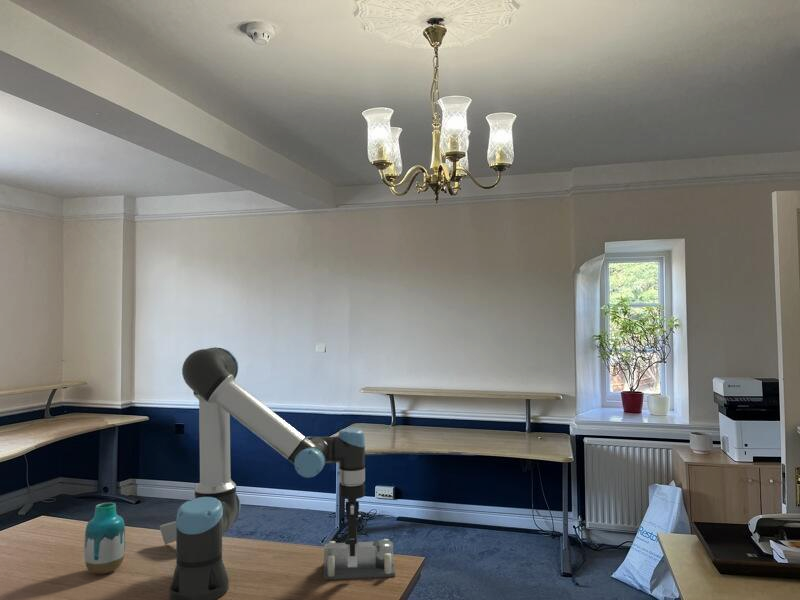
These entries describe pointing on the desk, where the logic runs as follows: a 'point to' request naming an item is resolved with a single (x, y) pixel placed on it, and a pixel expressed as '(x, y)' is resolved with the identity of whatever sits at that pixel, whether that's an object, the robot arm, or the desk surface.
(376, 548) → the grey ball-ended handle
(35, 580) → the desk surface
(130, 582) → the desk surface
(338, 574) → the pad
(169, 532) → the white stapler
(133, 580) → the desk surface
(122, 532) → the vase
